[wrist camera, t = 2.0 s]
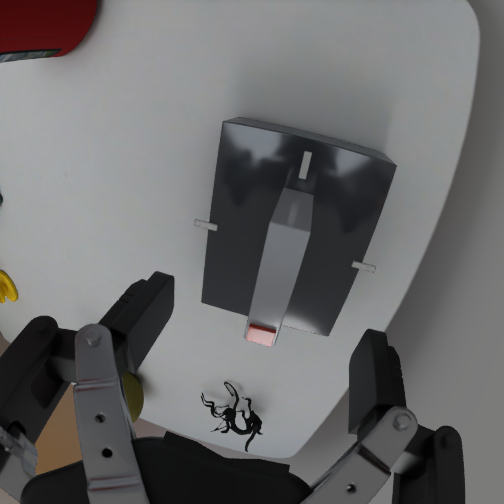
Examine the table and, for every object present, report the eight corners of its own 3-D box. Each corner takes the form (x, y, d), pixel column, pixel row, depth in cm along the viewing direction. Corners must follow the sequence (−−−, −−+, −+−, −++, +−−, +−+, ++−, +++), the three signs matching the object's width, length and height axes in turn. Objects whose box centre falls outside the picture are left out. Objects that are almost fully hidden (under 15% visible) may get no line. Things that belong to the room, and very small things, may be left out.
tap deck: (224, 114, 17) (205, 118, 14) (398, 158, 16) (412, 171, 13) (204, 275, 23) (188, 300, 20) (339, 311, 22) (339, 341, 19)
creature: (204, 398, 34) (260, 429, 32) (181, 428, 30) (241, 462, 28) (214, 366, 30) (280, 401, 28) (186, 400, 26) (259, 441, 24)
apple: (92, 354, 34) (64, 392, 28) (135, 360, 32) (106, 405, 26) (119, 390, 37) (97, 426, 31) (162, 398, 35) (141, 440, 29)
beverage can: (37, 32, 15) (-77, 47, 5) (81, -29, 12) (-38, -44, 2) (67, 72, 17) (-66, 99, 6) (118, 5, 14) (-26, -13, 3)
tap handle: (283, 187, 15) (268, 224, 11) (314, 194, 15) (310, 235, 11) (260, 286, 18) (242, 341, 14) (285, 293, 18) (273, 350, 14)
